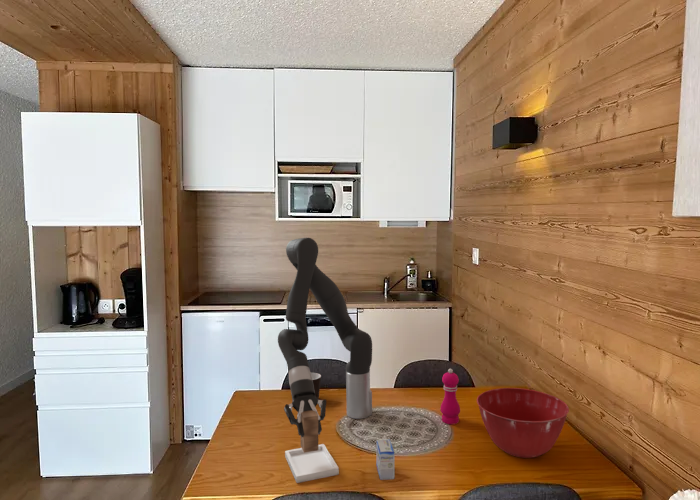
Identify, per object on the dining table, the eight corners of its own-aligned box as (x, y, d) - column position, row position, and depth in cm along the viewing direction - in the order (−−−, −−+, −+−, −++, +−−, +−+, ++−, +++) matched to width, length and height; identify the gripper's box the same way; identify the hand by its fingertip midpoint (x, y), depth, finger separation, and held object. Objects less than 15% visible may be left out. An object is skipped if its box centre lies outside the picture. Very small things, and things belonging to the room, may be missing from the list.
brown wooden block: (314, 443, 152) (314, 409, 151) (318, 450, 148) (318, 415, 147) (300, 445, 150) (300, 411, 150) (304, 452, 146) (303, 417, 145)
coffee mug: (320, 403, 198) (320, 379, 197) (299, 403, 198) (299, 379, 197) (322, 392, 209) (322, 370, 208) (302, 392, 209) (302, 370, 209)
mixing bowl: (459, 437, 167) (459, 394, 166) (524, 422, 177) (525, 382, 176) (515, 478, 141) (516, 428, 139) (588, 459, 151) (589, 411, 150)
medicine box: (376, 466, 149) (376, 439, 148) (390, 465, 149) (390, 438, 148) (379, 480, 141) (379, 452, 140) (394, 479, 141) (394, 451, 141)
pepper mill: (460, 425, 176) (460, 372, 174) (440, 424, 177) (440, 371, 175) (459, 417, 183) (460, 366, 181) (440, 416, 184) (440, 365, 182)
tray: (323, 449, 159) (323, 443, 159) (338, 474, 144) (338, 468, 144) (285, 456, 155) (285, 450, 155) (296, 483, 140) (296, 476, 140)
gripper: (281, 380, 152) (289, 434, 142) (324, 375, 157) (335, 426, 147) (278, 391, 158) (286, 443, 147) (320, 385, 162) (330, 436, 152)
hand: (310, 434), depth 147 cm, fingers closed on brown wooden block, 4 cm apart
